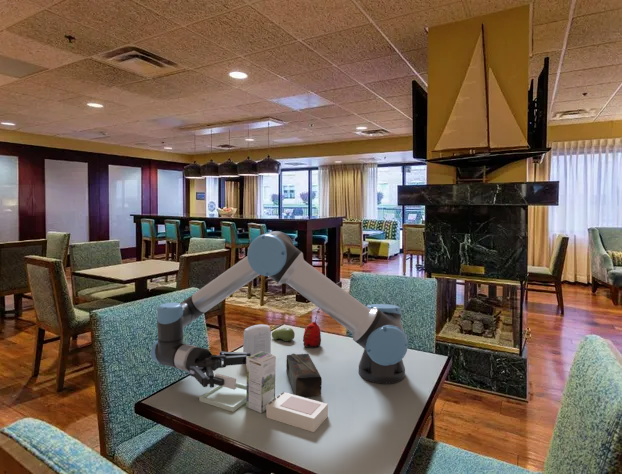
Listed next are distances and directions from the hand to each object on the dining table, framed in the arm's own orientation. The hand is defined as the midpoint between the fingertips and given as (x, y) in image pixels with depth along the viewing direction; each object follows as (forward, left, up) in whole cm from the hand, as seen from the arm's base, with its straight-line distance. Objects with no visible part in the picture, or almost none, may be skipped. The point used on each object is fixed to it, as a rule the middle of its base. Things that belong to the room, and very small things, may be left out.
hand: (251, 374), depth 108 cm
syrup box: (-3, +1, -9) cm, 9 cm away
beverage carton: (-12, -15, -9) cm, 21 cm away
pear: (+2, -52, -9) cm, 53 cm away
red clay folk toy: (-11, -47, -9) cm, 49 cm away
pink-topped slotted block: (-14, +5, -9) cm, 17 cm away
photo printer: (+7, -31, -9) cm, 33 cm away
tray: (+7, -3, -9) cm, 12 cm away
